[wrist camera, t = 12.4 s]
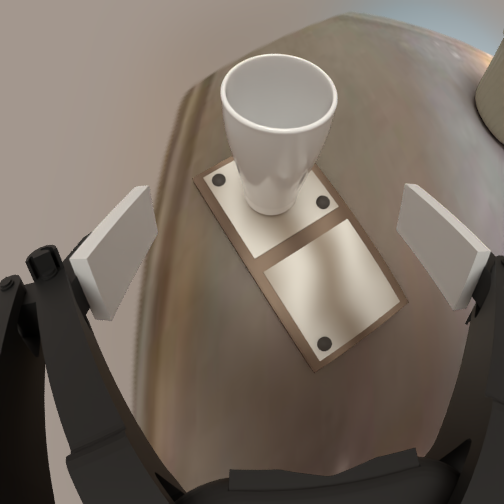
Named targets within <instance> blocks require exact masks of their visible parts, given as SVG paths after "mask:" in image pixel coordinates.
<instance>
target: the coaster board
mask: <svg viewBox="0 0 504 504" xmlns="http://www.w3.org/2000/svg"><path fill="white" fill-rule="evenodd" d="M192 179H193V181H194V183H195V185H196V186H197V188H198V190H199V191H200V193H201V195H202V196H203V198H204V199H205V201H206V203H207V204H208V206H209V208H210V209H211V211H212V212H213V214H214V216H215V217H216V219H217V221H218V222H219V224H220V225H221V227H222V229H223V230H224V232H225V233H226V235H227V237H228V238H229V240H230V241H231V243H232V245H233V246H234V248H235V249H236V251H237V253H238V254H239V256H240V257H241V259H242V261H243V262H244V264H245V265H246V267H247V269H248V270H249V272H250V273H251V275H252V277H253V278H254V280H255V281H256V283H257V285H258V286H259V288H260V289H261V291H262V292H263V294H264V296H265V297H266V299H267V300H268V302H269V303H270V305H271V307H272V308H273V310H274V311H275V313H276V315H277V316H278V318H279V319H280V321H281V322H282V324H283V325H284V327H285V329H286V330H287V332H288V333H289V335H290V336H291V338H292V340H293V341H294V343H295V344H296V346H297V347H298V349H299V350H300V352H301V354H302V355H303V357H304V358H305V360H306V361H307V363H308V364H309V366H310V368H311V369H312V371H313V372H314V373H315V372H316V371H318V370H319V369H321V368H322V367H324V366H325V365H327V364H328V363H330V362H331V361H333V360H334V359H336V358H337V357H339V356H340V355H341V354H343V353H344V352H346V351H347V350H348V349H350V348H351V347H353V346H354V345H355V344H357V343H358V342H359V341H361V340H362V339H363V338H365V337H366V336H367V335H369V334H370V333H371V332H372V331H374V330H375V329H376V328H378V327H379V326H380V325H381V324H383V323H384V322H385V321H386V320H388V319H389V318H390V317H391V316H393V315H394V314H395V313H396V312H397V311H399V310H400V309H401V308H402V307H403V306H405V305H406V304H407V303H408V300H407V298H406V296H405V295H404V293H403V291H402V289H401V288H400V286H399V284H398V283H397V281H396V279H395V278H394V276H393V274H392V273H391V271H390V269H389V268H388V266H387V265H386V263H385V261H384V260H383V258H382V257H381V255H380V253H379V252H378V250H377V249H376V247H375V246H374V244H373V243H372V241H371V240H370V238H369V237H368V235H367V234H366V232H365V231H364V229H363V228H362V226H361V225H360V223H359V222H358V220H357V219H356V217H355V216H354V214H353V213H352V212H351V210H350V209H349V207H348V206H347V205H346V203H345V202H344V200H343V199H342V198H341V196H340V195H339V194H338V192H337V191H336V189H335V188H334V187H333V185H332V184H331V183H330V181H329V180H328V179H327V177H326V176H325V175H324V174H323V172H322V171H321V170H320V168H319V167H318V166H317V164H316V163H315V164H314V166H313V167H312V169H311V171H310V173H309V175H308V176H307V178H306V180H305V182H304V184H303V186H302V187H301V189H300V191H299V193H298V196H297V199H296V201H295V203H294V204H293V206H292V207H291V208H290V209H289V210H287V211H286V212H284V213H282V214H279V215H264V214H261V213H258V212H257V211H255V210H254V209H252V208H251V207H250V206H249V204H248V203H247V201H246V199H245V197H244V193H243V187H242V183H241V180H240V177H239V174H238V171H237V168H236V165H235V162H234V159H233V156H231V157H229V158H227V159H226V160H224V161H222V162H220V163H218V164H216V165H215V166H213V167H211V168H209V169H208V170H206V171H204V172H202V173H201V174H199V175H197V176H195V177H194V178H192Z"/></svg>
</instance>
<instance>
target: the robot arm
mask: <svg viewBox="0 0 504 504" xmlns="http://www.w3.org/2000/svg"><path fill="white" fill-rule="evenodd" d="M396 230H397V231H398V233H399V234H400V235H401V237H402V238H403V239H404V240H405V242H406V243H407V244H408V246H409V247H410V248H411V250H412V251H413V252H414V254H415V255H416V256H417V258H418V259H419V261H420V262H421V263H422V265H423V266H424V268H425V269H426V270H427V272H428V273H429V275H430V276H431V278H432V279H433V281H434V282H435V284H436V285H437V286H438V288H439V289H440V291H441V293H442V294H443V296H444V297H445V299H446V300H447V302H448V303H449V305H450V307H451V308H452V310H453V311H454V310H460V309H466V308H467V306H468V304H469V302H470V299H471V297H473V299H474V300H475V301H476V304H475V306H474V308H473V309H472V311H471V313H470V315H469V317H468V319H467V321H466V323H465V324H468V322H470V327H469V332H468V337H467V342H466V346H465V351H464V355H463V359H462V363H461V367H460V371H459V375H458V378H457V382H456V385H455V388H454V392H453V395H452V398H451V401H450V404H449V407H448V410H447V413H446V415H445V418H444V421H443V424H442V426H441V429H440V431H439V434H438V436H437V439H436V441H435V443H434V445H433V446H432V448H431V449H430V451H429V452H428V453H427V454H426V456H425V457H417V453H416V449H415V448H412V449H409V450H405V451H401V452H397V453H393V454H389V455H385V456H381V457H376V458H374V459H372V460H369V461H367V462H365V463H363V464H361V465H358V466H356V467H354V468H351V469H349V470H346V471H344V472H341V473H339V474H336V475H333V476H319V475H310V474H303V473H296V472H290V471H284V470H231V469H230V472H229V478H224V479H219V480H216V481H212V482H209V483H206V484H204V485H201V486H199V487H197V488H195V489H193V490H191V491H189V492H188V493H186V492H185V490H184V489H183V488H182V487H181V485H180V484H179V483H178V482H177V480H176V479H175V478H174V477H173V475H172V474H171V473H170V472H169V471H168V470H167V468H166V467H165V466H164V464H163V463H162V462H161V460H160V459H159V457H158V456H157V454H156V453H155V451H154V450H153V448H152V446H151V445H150V443H149V442H148V440H147V439H146V437H145V435H144V434H143V432H142V430H141V429H140V427H139V425H138V424H137V422H136V420H135V418H134V417H133V415H132V413H131V411H130V409H129V408H128V406H127V404H126V402H125V400H124V398H123V396H122V394H121V392H120V391H119V389H118V387H117V385H116V383H115V381H114V378H113V376H112V374H111V372H110V370H109V368H108V366H107V364H106V361H105V359H104V357H103V355H102V352H101V350H100V348H99V345H98V343H97V341H96V338H95V336H94V333H93V331H92V328H91V326H90V323H89V321H88V319H87V317H86V314H87V312H88V310H89V308H90V309H91V311H92V313H93V315H94V318H95V319H97V320H108V321H112V319H113V317H114V315H115V313H116V311H117V309H118V307H119V305H120V303H121V301H122V299H123V297H124V295H125V293H126V291H127V289H128V287H129V285H130V283H131V281H132V279H133V278H134V276H135V274H136V272H137V270H138V268H139V266H140V265H141V263H142V261H143V259H144V257H145V255H146V254H147V252H148V250H149V248H150V246H151V245H152V243H153V241H154V239H155V238H156V236H157V234H158V230H157V225H156V220H155V215H154V210H153V204H152V199H151V193H150V188H149V186H148V185H147V186H137V187H135V188H134V189H133V190H132V191H131V192H130V193H129V194H128V195H127V196H126V197H125V198H124V199H123V200H122V201H121V202H120V203H119V204H118V205H117V206H116V207H115V208H114V209H113V210H112V211H111V212H110V213H109V214H108V215H107V217H106V218H105V219H104V220H103V221H102V222H101V223H100V224H99V225H98V226H97V227H96V229H95V230H94V231H93V232H91V233H90V234H88V235H87V236H85V237H84V238H83V239H82V240H81V241H80V242H79V244H78V245H77V246H76V247H75V248H74V249H73V251H71V253H70V254H69V255H68V256H67V257H66V259H65V260H64V261H63V262H62V261H61V258H60V255H59V252H58V250H57V248H56V246H54V245H46V246H44V247H40V248H39V249H37V250H35V251H34V252H32V253H31V254H30V255H29V256H28V258H27V259H26V264H27V267H28V269H29V271H30V273H31V276H32V278H33V280H34V283H31V284H26V285H24V284H23V282H22V280H21V278H20V277H19V275H12V276H9V277H6V278H4V279H3V280H2V281H1V282H0V504H55V501H54V494H53V489H52V483H51V477H50V470H49V463H48V455H47V444H46V432H45V408H44V383H45V364H46V369H47V373H48V377H49V382H50V386H51V390H52V393H53V397H54V401H55V404H56V408H57V411H58V414H59V417H60V420H61V423H62V426H63V429H64V432H65V435H66V438H67V440H68V443H69V446H70V449H71V454H70V455H68V456H67V457H66V465H67V468H68V471H69V474H70V476H71V479H72V481H73V483H74V486H75V488H76V489H77V492H78V494H79V496H80V498H81V500H82V502H83V504H504V256H497V257H495V256H494V254H493V253H492V252H491V251H490V250H489V249H488V248H487V247H486V246H485V245H484V244H483V243H482V242H481V241H480V240H479V239H478V238H477V237H476V236H475V235H474V234H473V233H472V232H471V231H470V230H469V229H468V228H467V227H466V226H465V225H464V224H463V223H461V222H460V221H459V220H458V219H457V218H456V217H455V216H454V215H453V214H452V213H450V212H449V211H448V210H447V209H446V208H445V207H444V206H442V205H441V204H440V203H439V202H438V201H437V200H435V199H434V198H433V197H432V196H431V195H429V194H428V193H427V192H426V191H424V190H423V189H422V188H421V187H419V186H418V185H417V184H406V183H405V186H404V192H403V197H402V203H401V208H400V213H399V218H398V223H397V228H396Z"/></svg>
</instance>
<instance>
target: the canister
mask: <svg viewBox="0 0 504 504" xmlns="http://www.w3.org/2000/svg"><path fill="white" fill-rule="evenodd" d="M503 34H504V31H503ZM475 100H476V105H477V109H478V112H479V114H480V116H481V118H482V119H483V122H484V123H485V124H486V126H487V127H488V128H489V130H490V131H491V132H492V134H493V135H494V136H495V137H496V138H497V139H498V140H499V141H500V142H502V143H503V145H504V38H503V40H502V42H501V44H500V46H499V48H498V50H497V52H496V54H495V55H494V57H493V59H492V61H491V63H490V64H489V66H488V68H487V70H486V72H485V74H484V76H483V77H482V79H481V81H480V83H479V85H478V87H477V90H476V96H475Z"/></svg>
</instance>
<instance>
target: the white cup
mask: <svg viewBox="0 0 504 504" xmlns="http://www.w3.org/2000/svg"><path fill="white" fill-rule="evenodd" d="M337 101H338V96H337V91H336V88H335V85H334V83H333V82H332V80H331V79H330V77H329V76H328V75H327V74H326V73H325V72H324V71H323V70H322V69H320V68H319V67H318V66H316V65H315V64H313V63H311V62H309V61H307V60H304V59H302V58H299V57H295V56H291V55H285V54H265V55H259V56H255V57H252V58H249V59H246V60H244V61H242V62H240V63H239V64H237V65H236V66H234V67H233V68H232V69H231V70H230V71H229V72H228V73H227V75H226V76H225V78H224V80H223V82H222V85H221V104H222V114H223V121H224V127H225V132H226V136H227V140H228V144H229V147H230V150H231V153H232V156H233V159H234V162H235V165H236V168H237V171H238V174H239V177H240V180H241V183H242V187H243V193H244V197H245V199H246V201H247V203H248V204H249V206H250V207H251V208H252V209H254V210H255V211H257V212H258V213H261V214H264V215H279V214H282V213H284V212H286V211H287V210H289V209H290V208H291V207H292V206H293V204H294V203H295V201H296V199H297V196H298V193H299V191H300V189H301V187H302V186H303V184H304V182H305V180H306V178H307V176H308V175H309V173H310V171H311V169H312V167H313V166H314V164H315V162H316V160H317V158H318V157H319V155H320V153H321V151H322V149H323V146H324V144H325V142H326V139H327V137H328V134H329V131H330V128H331V125H332V121H333V118H334V114H335V110H336V107H337Z"/></svg>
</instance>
